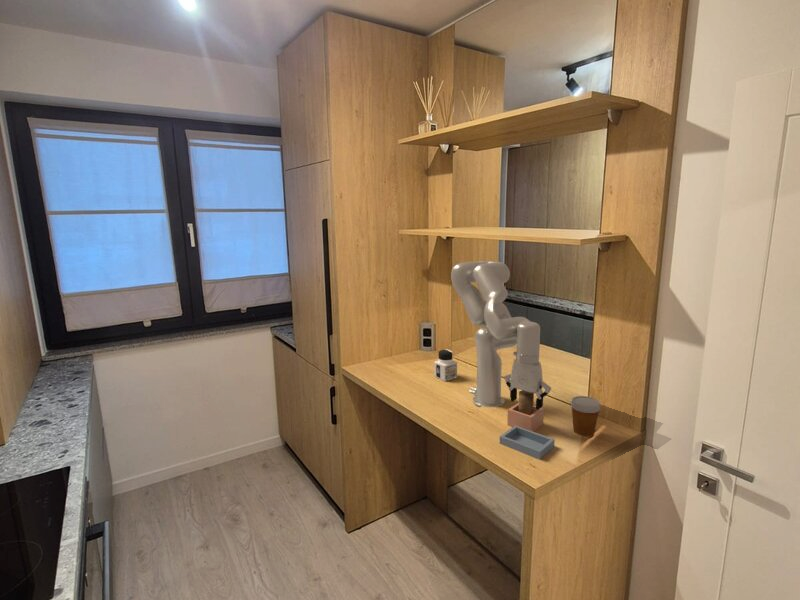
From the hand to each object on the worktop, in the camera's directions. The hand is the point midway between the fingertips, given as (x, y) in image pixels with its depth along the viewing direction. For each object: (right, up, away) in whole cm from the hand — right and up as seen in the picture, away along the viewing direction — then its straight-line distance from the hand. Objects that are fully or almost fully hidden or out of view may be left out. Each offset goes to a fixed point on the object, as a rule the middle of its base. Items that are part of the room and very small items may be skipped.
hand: (526, 404), depth 151 cm
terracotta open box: (0, -9, +2) cm, 9 cm away
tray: (-3, -11, -11) cm, 16 cm away
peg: (0, -8, +2) cm, 8 cm away
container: (-23, 0, +50) cm, 55 cm away
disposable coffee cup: (+19, -10, -4) cm, 21 cm away
